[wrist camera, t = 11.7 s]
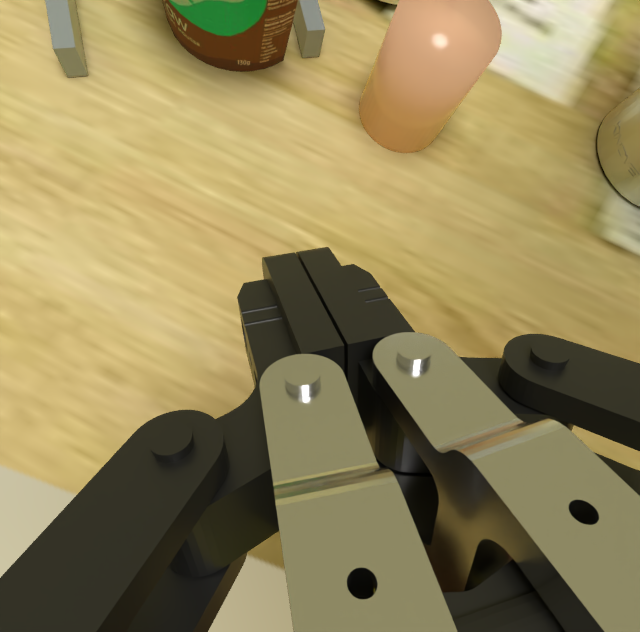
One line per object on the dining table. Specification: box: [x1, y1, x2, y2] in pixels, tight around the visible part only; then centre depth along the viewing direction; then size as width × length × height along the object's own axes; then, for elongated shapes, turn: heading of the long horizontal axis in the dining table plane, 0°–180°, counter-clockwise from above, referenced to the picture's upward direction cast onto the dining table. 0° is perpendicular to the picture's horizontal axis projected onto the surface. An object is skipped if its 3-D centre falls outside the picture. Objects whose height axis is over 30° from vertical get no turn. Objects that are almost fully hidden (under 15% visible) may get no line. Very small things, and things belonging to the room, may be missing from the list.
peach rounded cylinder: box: [359, 0, 502, 153], centre depth 29 cm, size 6×6×8 cm
